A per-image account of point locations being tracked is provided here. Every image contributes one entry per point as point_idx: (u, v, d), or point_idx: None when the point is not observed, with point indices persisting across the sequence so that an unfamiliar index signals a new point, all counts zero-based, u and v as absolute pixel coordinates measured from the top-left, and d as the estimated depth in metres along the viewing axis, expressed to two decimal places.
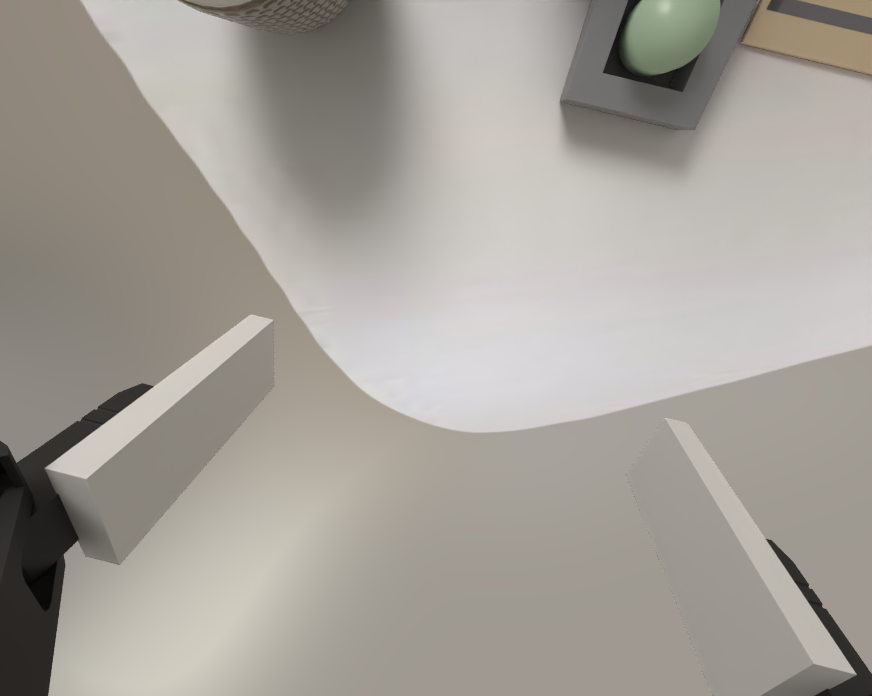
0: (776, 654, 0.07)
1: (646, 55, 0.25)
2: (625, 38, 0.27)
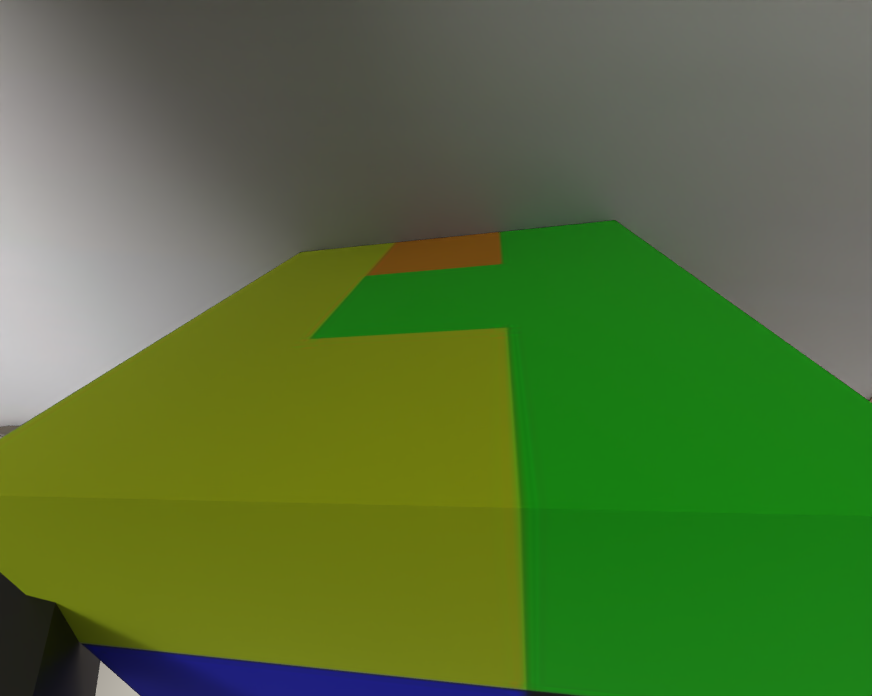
0: None
1: None
2: None
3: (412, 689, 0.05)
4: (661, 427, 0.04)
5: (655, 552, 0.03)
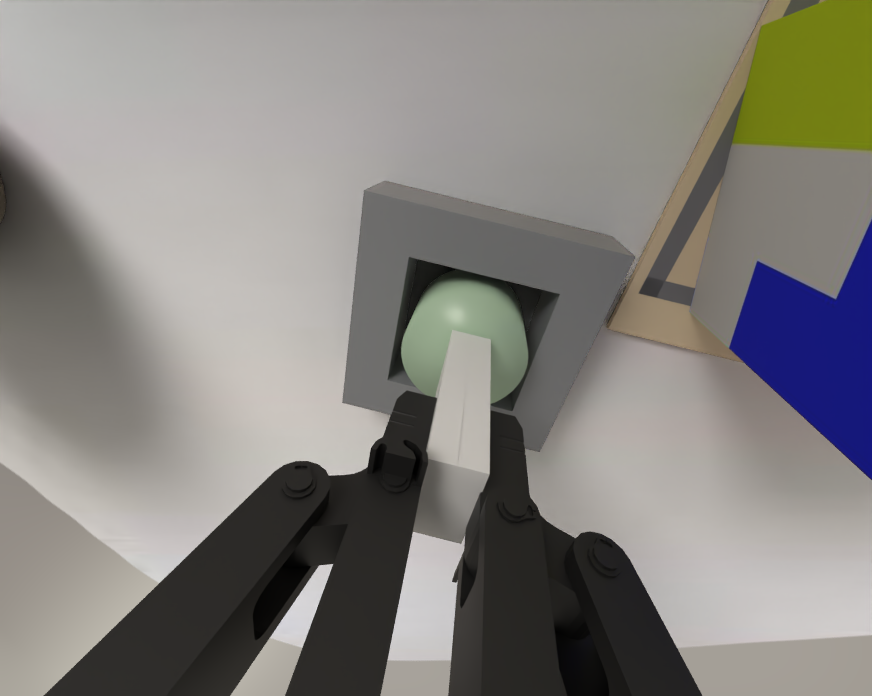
0: None
1: (429, 388, 0.16)
2: None
3: None
4: None
5: None
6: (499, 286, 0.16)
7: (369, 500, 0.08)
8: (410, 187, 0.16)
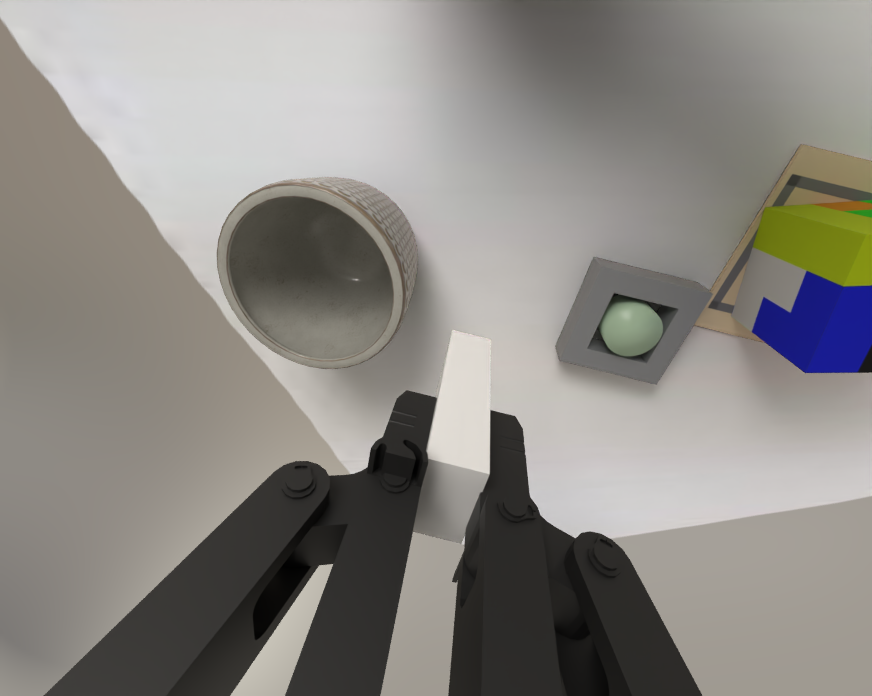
0: None
1: (613, 347, 0.36)
2: (599, 326, 0.37)
3: None
4: None
5: None
6: (645, 302, 0.36)
7: (369, 500, 0.08)
8: (605, 260, 0.36)
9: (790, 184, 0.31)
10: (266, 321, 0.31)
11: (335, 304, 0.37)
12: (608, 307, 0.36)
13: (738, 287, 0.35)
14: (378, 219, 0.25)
